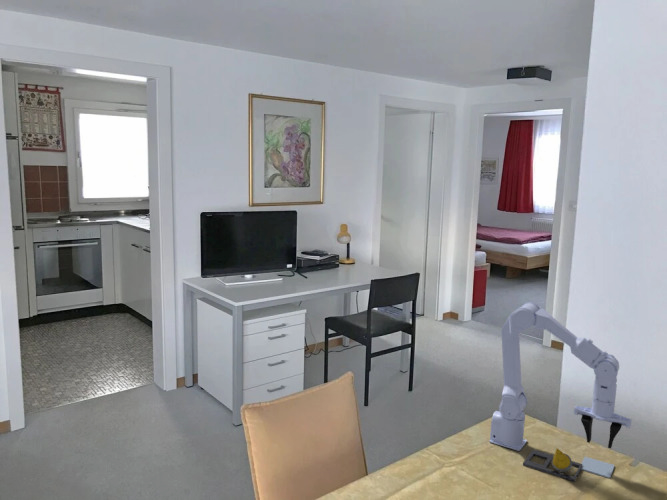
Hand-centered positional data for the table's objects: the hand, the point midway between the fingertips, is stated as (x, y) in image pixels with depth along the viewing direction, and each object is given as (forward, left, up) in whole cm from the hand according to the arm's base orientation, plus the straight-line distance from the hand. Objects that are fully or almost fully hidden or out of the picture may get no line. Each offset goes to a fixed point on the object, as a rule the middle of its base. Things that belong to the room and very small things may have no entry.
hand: (599, 444), depth 159 cm
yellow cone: (-7, -7, -7) cm, 12 cm away
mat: (0, 0, -7) cm, 7 cm away
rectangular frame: (-11, -7, -7) cm, 15 cm away
